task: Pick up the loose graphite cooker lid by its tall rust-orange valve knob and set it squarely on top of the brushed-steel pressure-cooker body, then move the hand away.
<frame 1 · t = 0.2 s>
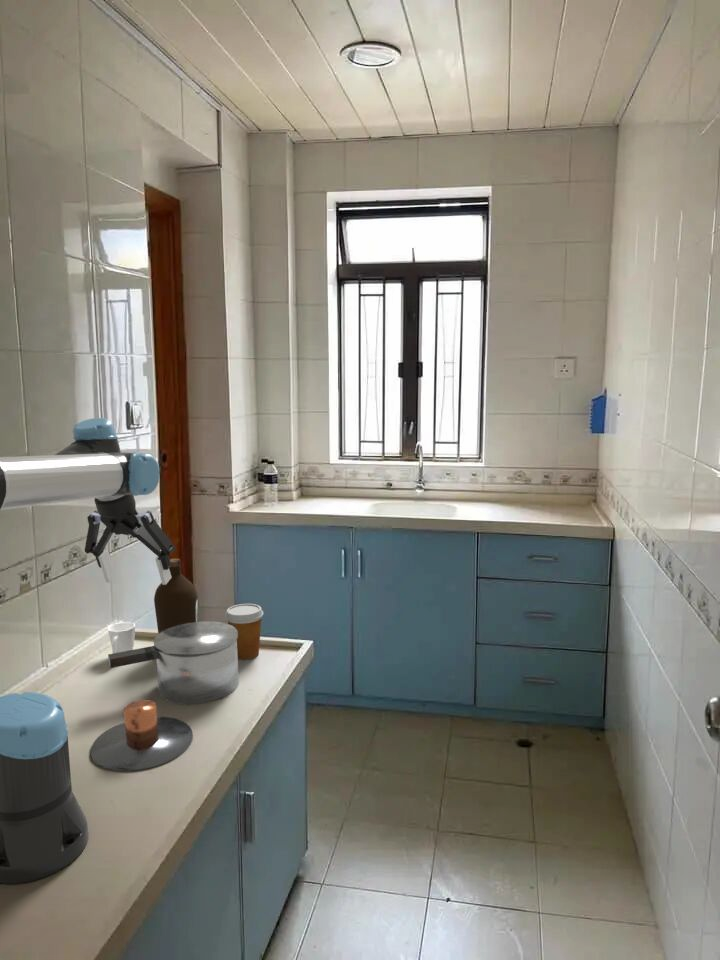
hand: (138, 580, 153), 27 cm above the counter, tool tilted 15°, fingers open, 13 cm apart
cup: (121, 659, 179), on the counter
cooker lid: (143, 745, 139), on the counter
cooker body: (199, 685, 163), on the counter
olive oil: (180, 655, 181), on the counter
disposable coffee cup: (246, 655, 181), on the counter
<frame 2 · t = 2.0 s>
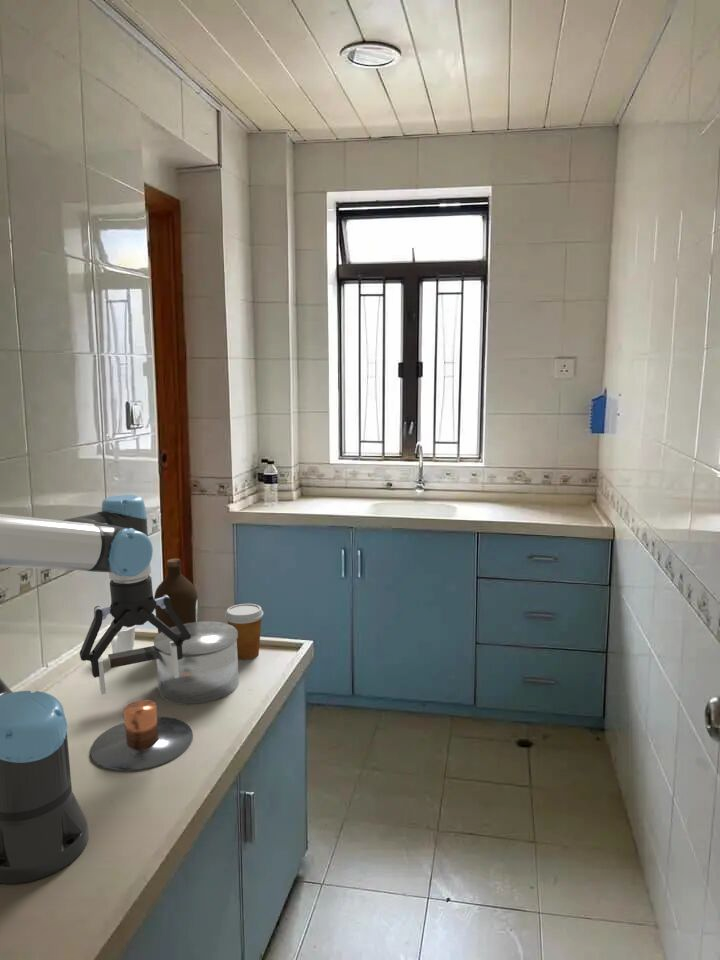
hand: (140, 683, 137), 12 cm above the counter, tool pointing down, fingers open, 13 cm apart
nothing on the counter moved.
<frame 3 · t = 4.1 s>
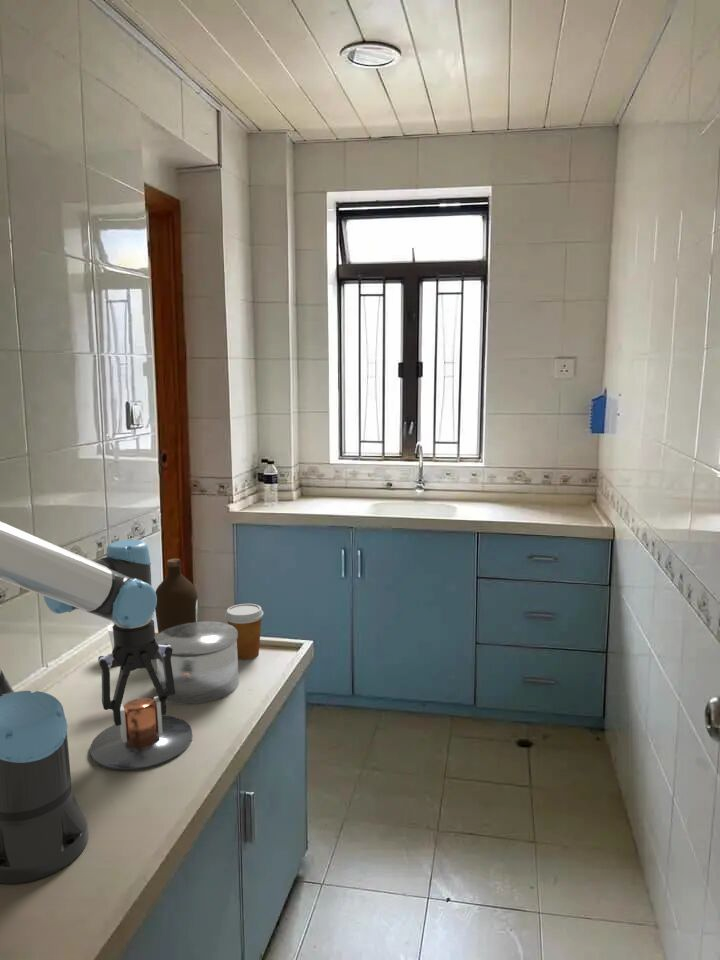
hand: (141, 734, 138), 2 cm above the counter, tool pointing down, fingers closed on cooker lid, 6 cm apart
cooker lid: (142, 743, 139), on the counter, touching gripper
everything else where it was.
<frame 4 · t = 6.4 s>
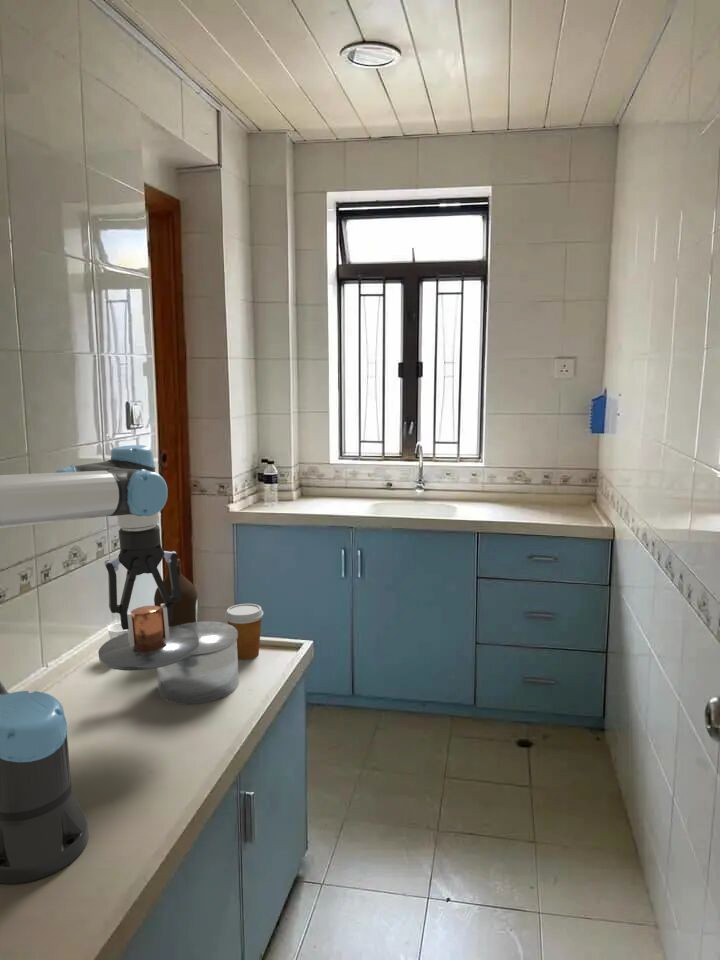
hand: (149, 640, 140), 19 cm above the counter, tool pointing down, fingers closed on cooker lid, 6 cm apart
cooker lid: (149, 649, 140), point 17 cm above the counter, touching gripper
everything else where it was.
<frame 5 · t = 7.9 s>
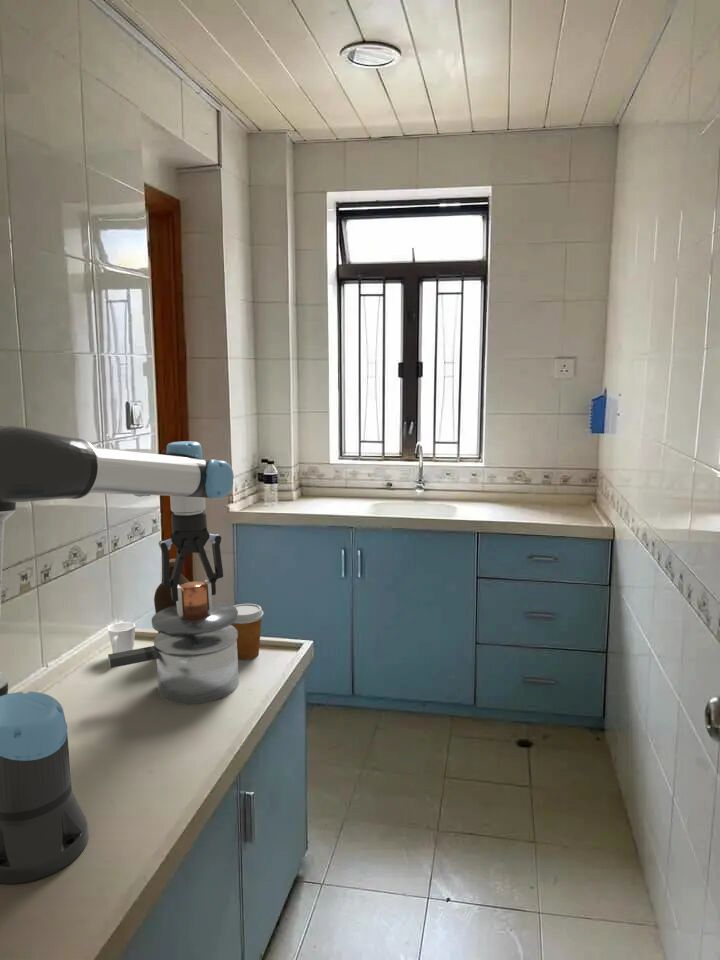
hand: (194, 611, 161), 18 cm above the counter, tool pointing down, fingers closed on cooker lid, 6 cm apart
cooker lid: (195, 619, 161), point 16 cm above the counter, touching gripper
everything else where it was.
when the fingers open (15 cm above the counter, at t = 8.9 s): cooker lid drops 1 cm, resting on cooker body.
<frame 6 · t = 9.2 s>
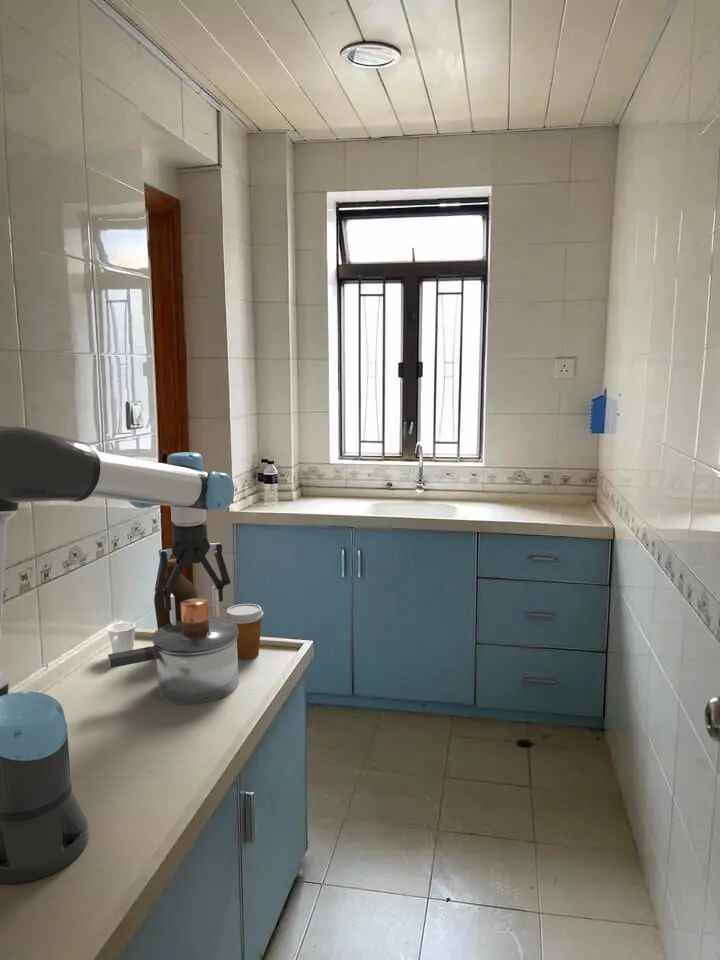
hand: (195, 619, 161), 16 cm above the counter, tool pointing down, fingers open, 9 cm apart
cooker lid: (196, 636, 161), point 12 cm above the counter, touching cooker body
everything else where it was.
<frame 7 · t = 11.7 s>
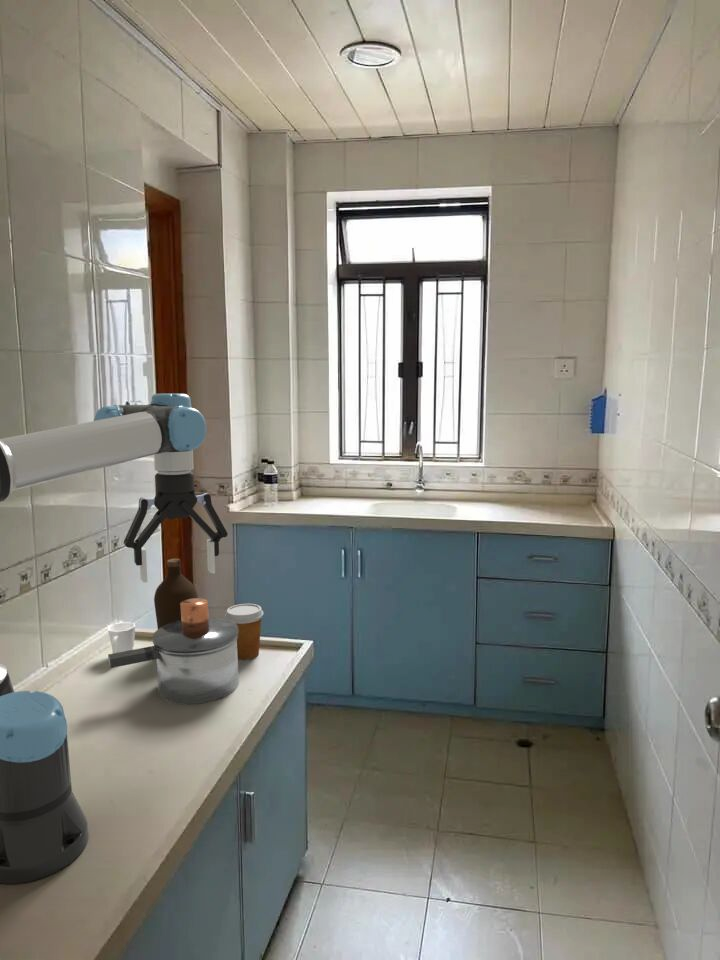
hand: (178, 576, 143), 31 cm above the counter, tool pointing down, fingers open, 13 cm apart
nothing on the counter moved.
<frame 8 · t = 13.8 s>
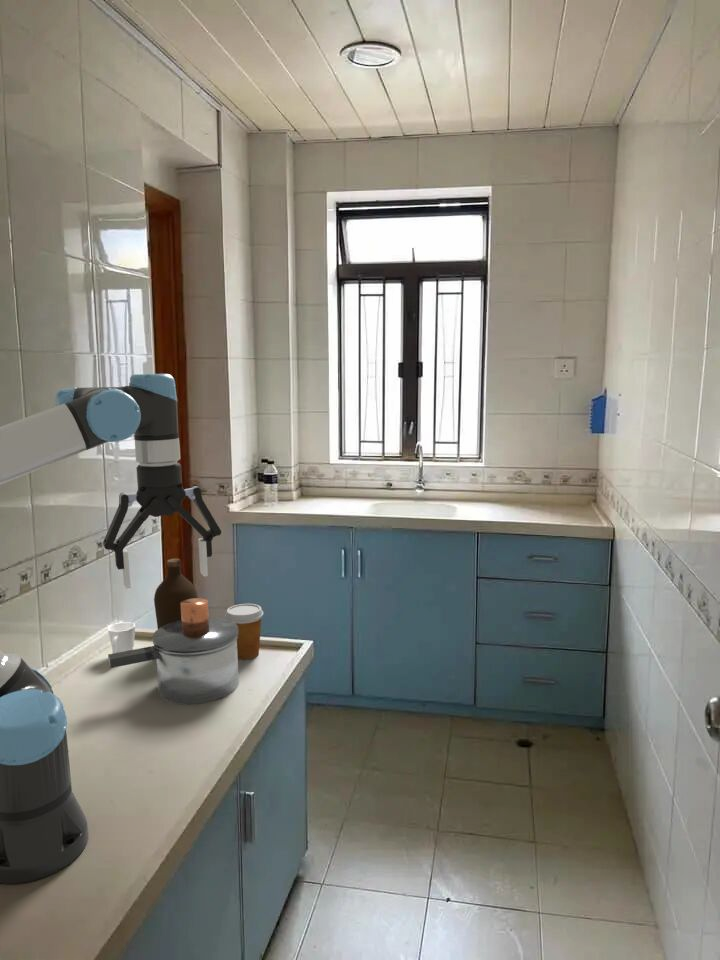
hand: (166, 580, 127), 35 cm above the counter, tool pointing down, fingers open, 13 cm apart
nothing on the counter moved.
at the end: cooker lid 0.1 cm from the cooker body (horizontally); cooker lid point 12.0 cm above the counter; cooker lid tilted 0° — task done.
